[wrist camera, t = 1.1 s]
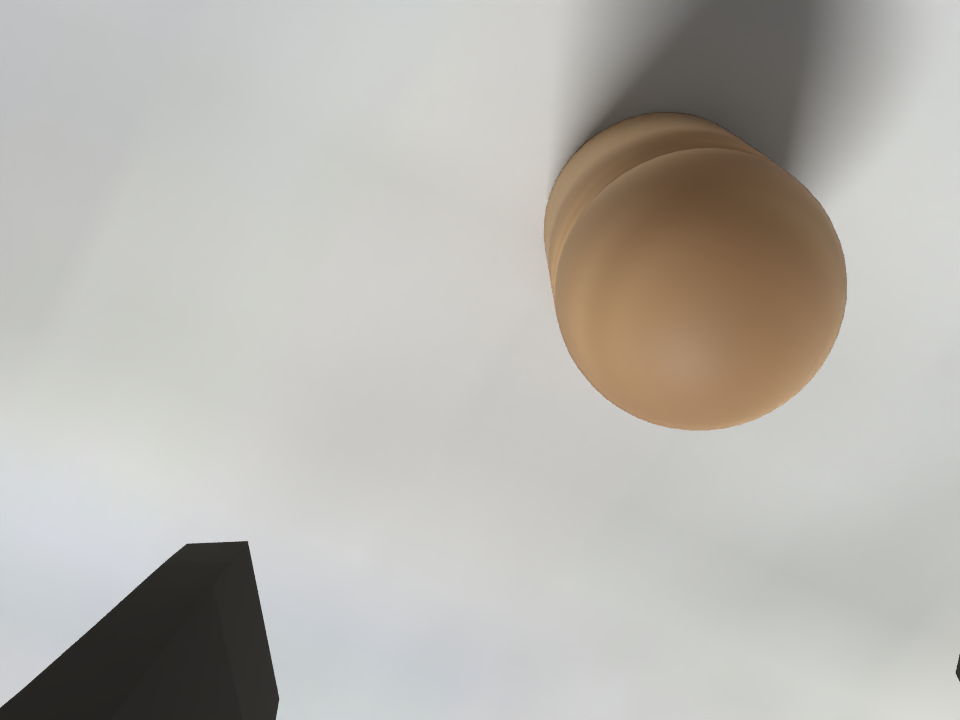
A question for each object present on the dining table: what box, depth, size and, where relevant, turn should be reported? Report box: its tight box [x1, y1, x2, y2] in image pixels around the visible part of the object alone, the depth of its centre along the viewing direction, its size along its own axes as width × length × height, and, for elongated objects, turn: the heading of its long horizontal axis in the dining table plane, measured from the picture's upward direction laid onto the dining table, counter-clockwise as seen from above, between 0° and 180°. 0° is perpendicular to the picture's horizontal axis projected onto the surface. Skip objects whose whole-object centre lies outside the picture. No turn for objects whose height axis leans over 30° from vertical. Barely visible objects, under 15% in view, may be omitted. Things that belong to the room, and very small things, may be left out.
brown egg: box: [544, 112, 847, 430], centre depth 14 cm, size 4×4×6 cm
